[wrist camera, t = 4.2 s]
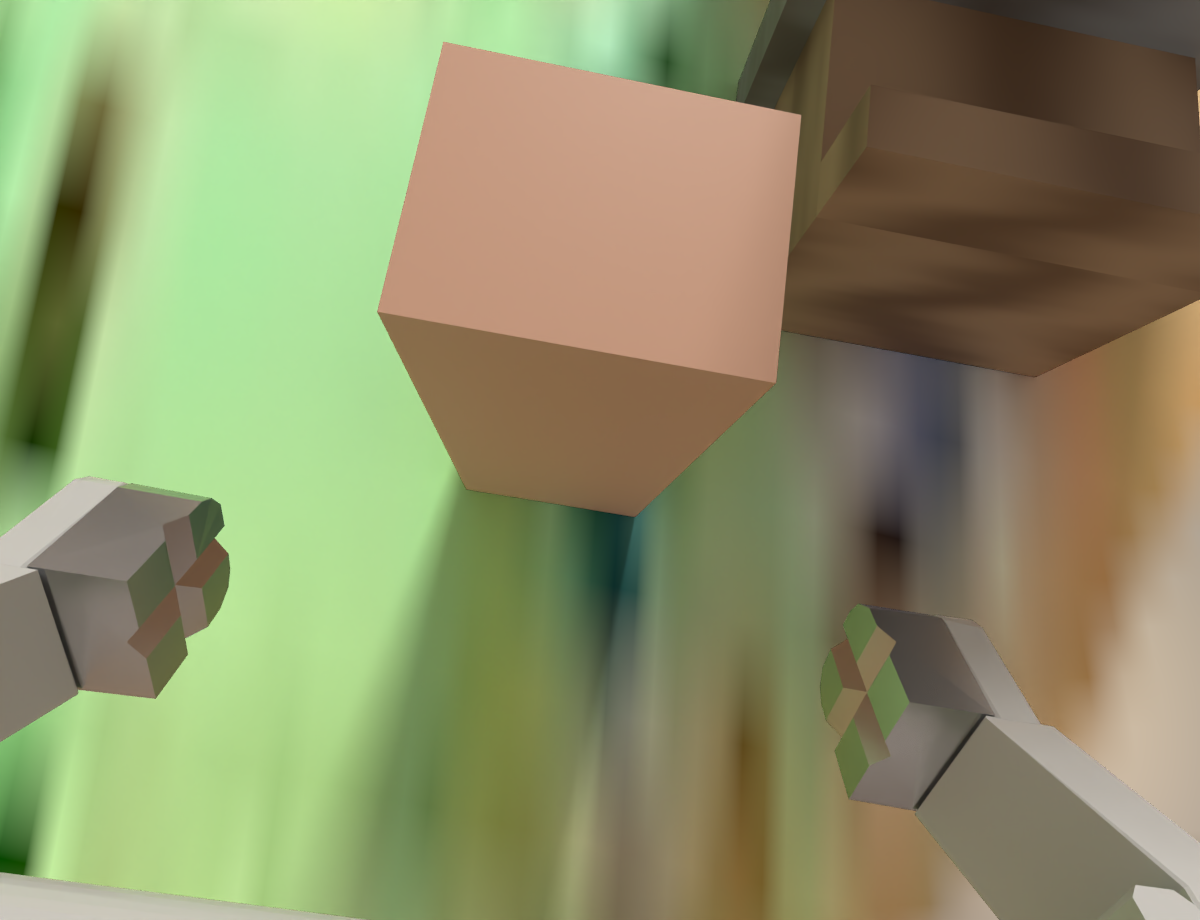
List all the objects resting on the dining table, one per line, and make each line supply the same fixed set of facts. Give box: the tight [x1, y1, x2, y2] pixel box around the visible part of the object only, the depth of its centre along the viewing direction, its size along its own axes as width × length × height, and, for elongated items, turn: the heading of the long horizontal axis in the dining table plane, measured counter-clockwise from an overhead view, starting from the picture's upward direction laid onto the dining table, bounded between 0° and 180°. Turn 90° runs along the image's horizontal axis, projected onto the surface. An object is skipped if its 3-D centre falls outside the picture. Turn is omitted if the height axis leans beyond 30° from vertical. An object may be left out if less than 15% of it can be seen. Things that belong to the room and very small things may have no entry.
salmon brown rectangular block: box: [377, 42, 801, 517], centre depth 15 cm, size 5×4×12 cm
